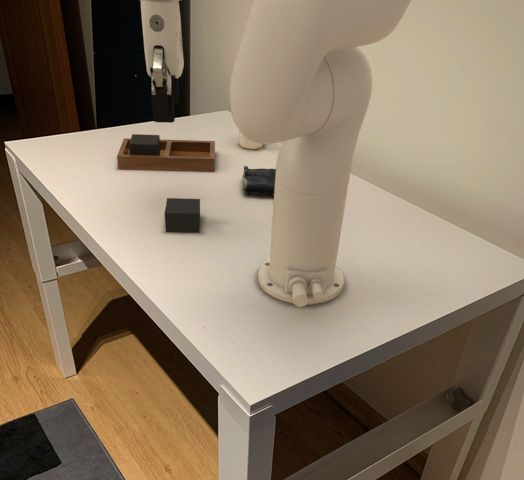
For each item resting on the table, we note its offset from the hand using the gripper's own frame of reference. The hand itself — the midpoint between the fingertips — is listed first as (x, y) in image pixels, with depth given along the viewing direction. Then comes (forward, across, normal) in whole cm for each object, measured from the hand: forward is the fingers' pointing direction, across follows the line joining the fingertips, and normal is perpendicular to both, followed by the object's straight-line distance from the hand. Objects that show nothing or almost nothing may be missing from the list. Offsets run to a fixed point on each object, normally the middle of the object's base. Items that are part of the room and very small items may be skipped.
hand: (167, 112), depth 89 cm
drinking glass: (+16, +30, -15) cm, 37 cm away
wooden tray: (+15, +20, +3) cm, 25 cm away
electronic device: (+16, +7, -20) cm, 27 cm away
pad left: (+14, +20, +7) cm, 26 cm away
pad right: (+16, -8, -2) cm, 18 cm away
